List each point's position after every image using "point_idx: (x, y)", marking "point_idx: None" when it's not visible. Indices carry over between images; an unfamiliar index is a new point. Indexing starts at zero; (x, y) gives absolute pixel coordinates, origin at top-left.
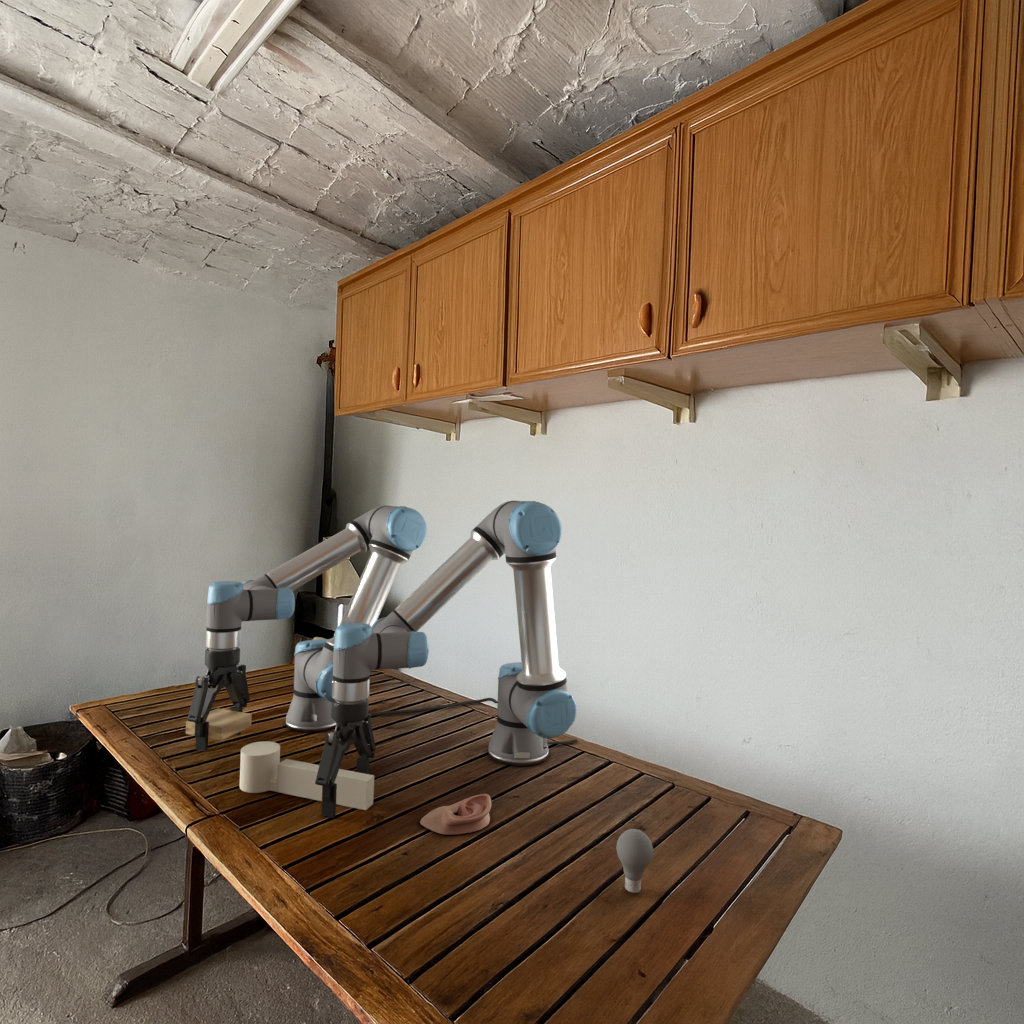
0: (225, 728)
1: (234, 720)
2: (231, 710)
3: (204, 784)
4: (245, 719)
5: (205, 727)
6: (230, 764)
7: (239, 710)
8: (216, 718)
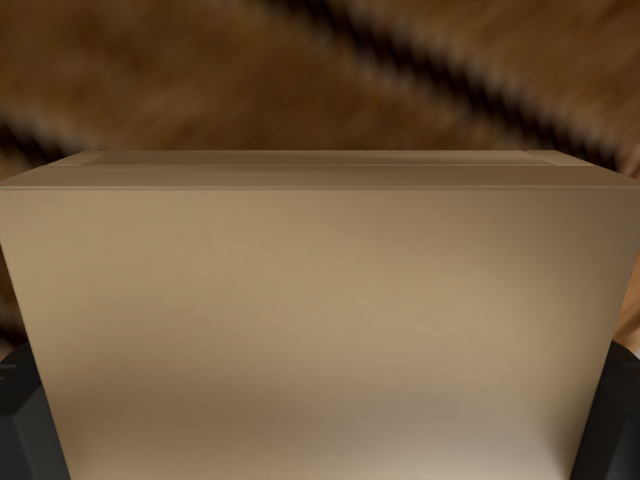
0: (555, 175)
1: (339, 221)
2: (69, 478)
3: (619, 81)
4: (146, 176)
5: (628, 378)
6: (332, 141)
7: (30, 396)
8: (369, 446)
